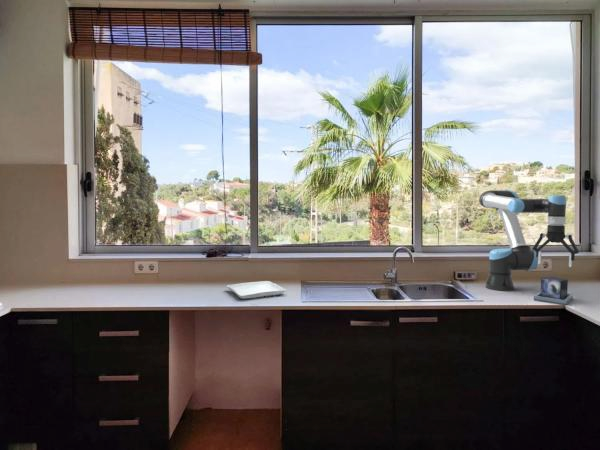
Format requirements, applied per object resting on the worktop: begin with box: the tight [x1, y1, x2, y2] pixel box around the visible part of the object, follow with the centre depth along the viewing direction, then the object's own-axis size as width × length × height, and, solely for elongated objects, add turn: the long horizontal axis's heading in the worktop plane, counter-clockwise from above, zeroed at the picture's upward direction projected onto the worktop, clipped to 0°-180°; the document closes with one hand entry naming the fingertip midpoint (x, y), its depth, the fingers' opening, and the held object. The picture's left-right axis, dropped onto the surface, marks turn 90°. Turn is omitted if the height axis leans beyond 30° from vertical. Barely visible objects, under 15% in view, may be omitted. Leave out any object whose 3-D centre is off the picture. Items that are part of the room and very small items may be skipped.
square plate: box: [226, 280, 287, 300], centre depth 217 cm, size 27×27×4 cm
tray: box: [533, 290, 574, 306], centre depth 200 cm, size 14×18×2 cm
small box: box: [540, 275, 569, 300], centre depth 200 cm, size 11×6×10 cm, turn 24°
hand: (554, 265), depth 199 cm, fingers open, 13 cm apart
